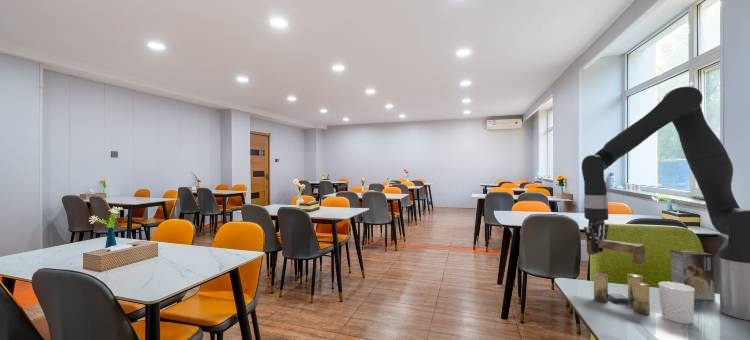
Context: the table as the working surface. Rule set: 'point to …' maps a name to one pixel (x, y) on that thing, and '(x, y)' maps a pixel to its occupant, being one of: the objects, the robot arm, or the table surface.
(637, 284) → the cylinder
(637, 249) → the rake
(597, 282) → the cylinder
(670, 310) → the white cup
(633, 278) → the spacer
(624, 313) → the table surface
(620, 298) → the grey square block
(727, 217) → the robot arm
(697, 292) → the coffee box
